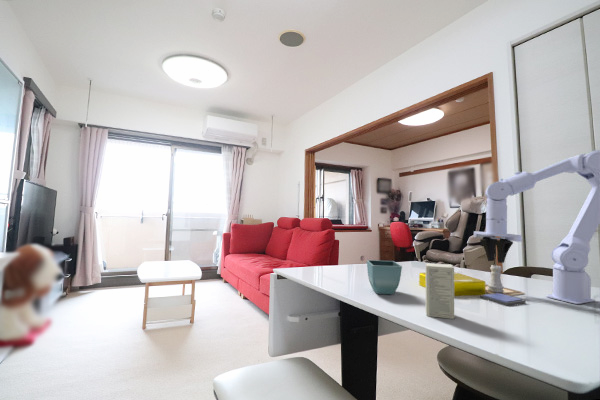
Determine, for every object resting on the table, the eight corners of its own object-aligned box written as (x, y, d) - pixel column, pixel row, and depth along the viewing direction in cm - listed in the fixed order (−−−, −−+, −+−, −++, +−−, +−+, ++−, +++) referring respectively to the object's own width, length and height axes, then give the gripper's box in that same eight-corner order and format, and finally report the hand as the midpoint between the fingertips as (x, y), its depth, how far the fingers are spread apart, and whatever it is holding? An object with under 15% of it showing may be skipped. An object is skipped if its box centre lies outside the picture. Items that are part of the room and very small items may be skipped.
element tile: (446, 297, 91) (446, 281, 92) (416, 285, 106) (416, 271, 106) (488, 296, 95) (488, 280, 95) (454, 283, 109) (454, 270, 109)
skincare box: (452, 313, 76) (452, 264, 76) (454, 320, 72) (455, 267, 72) (424, 310, 78) (425, 262, 78) (425, 316, 74) (426, 265, 74)
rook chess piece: (506, 293, 94) (507, 267, 94) (490, 292, 95) (491, 266, 95) (500, 290, 98) (500, 265, 99) (484, 289, 99) (485, 264, 100)
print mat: (490, 285, 107) (490, 283, 107) (524, 293, 97) (524, 291, 97) (468, 287, 103) (468, 286, 103) (501, 297, 93) (501, 295, 93)
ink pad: (497, 295, 94) (497, 292, 94) (525, 303, 87) (525, 299, 87) (479, 297, 91) (479, 294, 91) (507, 306, 84) (507, 302, 84)
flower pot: (402, 297, 90) (402, 266, 90) (371, 296, 90) (372, 265, 90) (393, 289, 98) (393, 260, 99) (365, 288, 99) (366, 260, 99)
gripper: (467, 218, 105) (467, 258, 105) (511, 220, 92) (511, 266, 92) (481, 218, 108) (481, 257, 108) (526, 220, 95) (525, 265, 94)
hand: (495, 261), depth 100 cm, fingers open, 3 cm apart
